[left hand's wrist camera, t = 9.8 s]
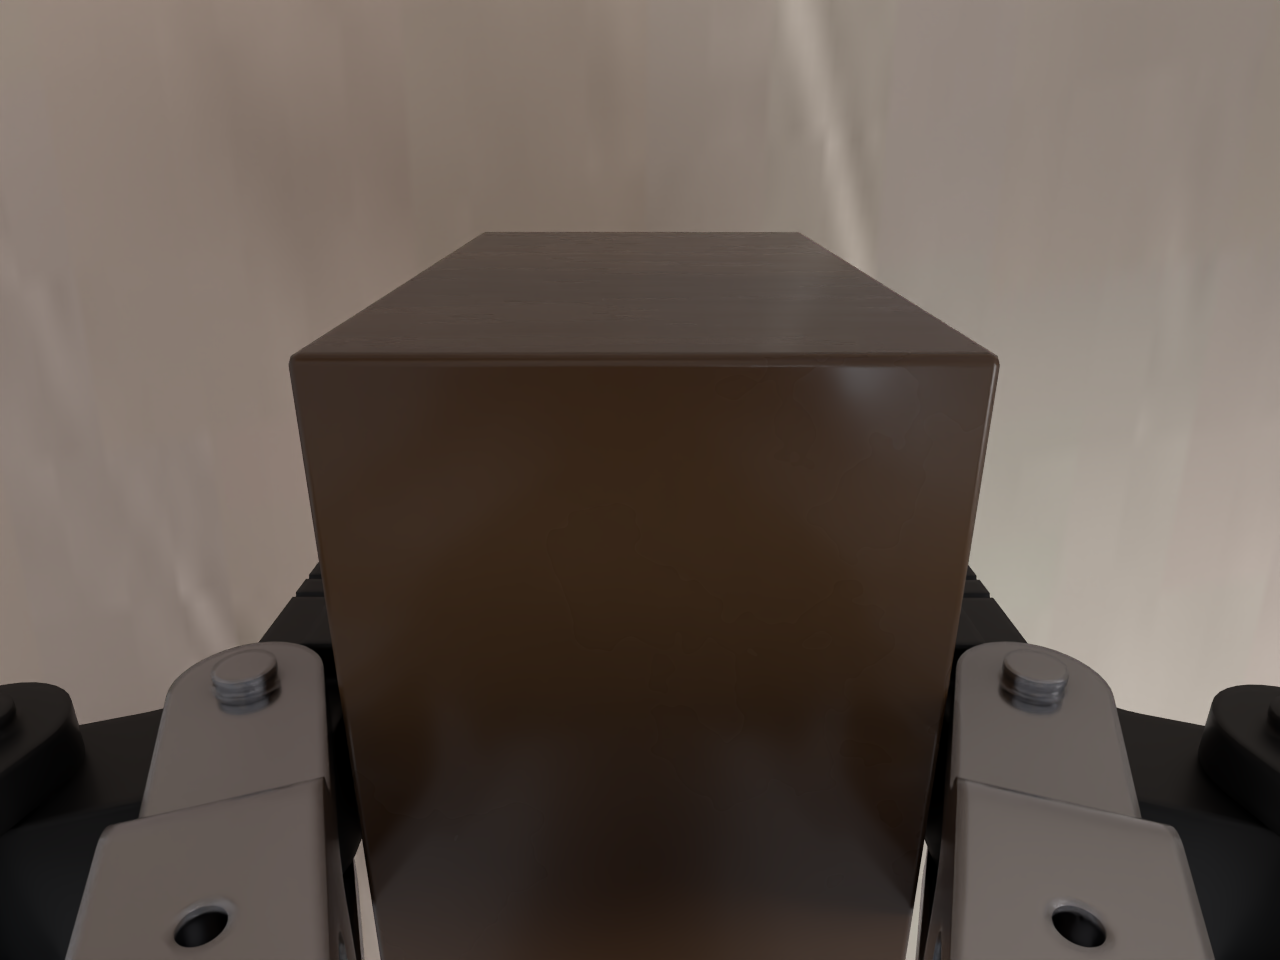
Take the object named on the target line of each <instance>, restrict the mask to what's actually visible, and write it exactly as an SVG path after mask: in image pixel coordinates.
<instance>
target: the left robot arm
mask: <svg viewBox="0 0 1280 960" xmlns="http://www.w3.org/2000/svg"><path fill="white" fill-rule="evenodd" d="M361 839H362V835H361V829H360V822H359V816H358V809H357V803H356V796H355V790H354V783H353V777H352V770H351V764H350V758H349V751H348V745H347V738H346V732H345V725H344V719H343V712H342V706H341V700H340V693H339V687H338V680H337V674H336V667H335V661H334V654H333V648H332V641H331V635H330V629H329V622H328V616H327V609H326V603H325V596H324V590H323V583H322V577H321V570H320V564H319V562H318V564H317V565H316V566H315V568H314V569H313V570H312V572H311V573H310V574H309V579H306V580H305V581H304V582H303V584H302V585H301V586H300V588H299V589H298V590H297V592H296V597H292V599H291V600H290V601H289V603H288V604H287V605H286V607H285V608H284V609H283V611H282V612H281V613H280V615H279V616H278V617H277V619H276V620H275V621H274V623H273V624H272V625H271V627H270V628H269V629H268V631H267V632H266V633H265V635H264V636H263V637H262V639H261V640H260V641H259V643H253V644H247V645H242V646H238V647H234V648H231V649H228V650H224V651H222V652H219V653H217V654H214V655H212V656H210V657H208V658H206V659H204V660H201V661H200V662H198V663H196V664H195V665H193V666H192V667H190V668H189V669H187V670H186V671H185V672H184V673H182V674H181V675H180V676H179V677H178V678H177V679H176V680H175V681H174V683H173V684H172V685H171V687H170V688H169V690H168V693H167V696H166V700H165V704H164V708H163V709H159V710H155V711H151V712H146V713H141V714H136V715H131V716H125V717H120V718H115V719H110V720H104V721H99V722H94V723H89V724H83V725H79V724H78V721H77V718H76V714H75V711H74V707H73V704H72V701H71V698H70V696H69V694H68V693H67V692H66V691H65V690H64V689H62V688H60V687H57V686H55V685H51V684H47V683H37V682H28V683H14V684H6V685H1V686H0V960H364V948H363V936H362V924H361V912H360V900H359V888H358V878H357V872H356V865H355V859H354V856H355V854H356V852H357V849H358V847H359V844H360V842H361ZM925 841H926V844H927V846H928V847H927V853H926V859H925V865H924V872H923V878H922V888H921V900H920V912H919V924H918V935H917V947H916V959H915V960H1280V687H1276V686H1267V685H1240V686H1234V687H1230V688H1227V689H1225V690H1223V691H1221V692H1219V693H1218V694H1217V695H1216V696H1215V697H1214V699H1213V702H1212V705H1211V708H1210V711H1209V715H1208V718H1207V721H1206V725H1205V726H1202V725H1197V724H1191V723H1186V722H1181V721H1176V720H1170V719H1165V718H1160V717H1155V716H1149V715H1144V714H1139V713H1135V712H1131V711H1126V710H1123V709H1119V708H1116V704H1115V700H1114V696H1113V693H1112V691H1111V688H1110V687H1109V685H1108V684H1107V683H1106V681H1105V680H1104V679H1103V678H1102V677H1101V676H1100V675H1099V674H1098V673H1096V672H1095V671H1094V670H1093V669H1091V668H1090V667H1088V666H1087V665H1085V664H1084V663H1082V662H1080V661H1079V660H1076V659H1074V658H1072V657H1070V656H1068V655H1066V654H1063V653H1061V652H1058V651H1056V650H1052V649H1049V648H1046V647H1042V646H1038V645H1033V644H1028V643H1027V642H1026V641H1025V639H1024V638H1023V637H1022V635H1021V634H1020V633H1019V631H1018V630H1017V629H1016V627H1015V626H1014V625H1013V623H1012V622H1011V621H1010V619H1009V618H1008V617H1007V615H1006V614H1005V613H1004V612H1003V610H1002V609H1001V608H1000V606H999V605H998V604H997V602H996V601H995V600H994V598H990V593H989V592H988V590H987V589H986V588H985V586H984V585H983V584H982V582H981V581H980V580H977V579H976V575H975V573H974V572H973V571H972V569H971V568H970V567H969V565H968V568H967V574H966V581H965V587H964V593H963V599H962V606H961V612H960V618H959V625H958V631H957V637H956V644H955V650H954V656H953V662H952V669H951V675H950V681H949V688H948V694H947V700H946V706H945V713H944V719H943V725H942V732H941V738H940V744H939V751H938V757H937V763H936V769H935V776H934V782H933V788H932V795H931V801H930V807H929V814H928V820H927V826H926V832H925Z"/></svg>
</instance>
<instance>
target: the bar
mask: <svg viewBox="0 0 1280 960" xmlns="http://www.w3.org/2000/svg"><path fill="white" fill-rule="evenodd" d="M999 366H1000V364H999V360H998V356H997V355H995V354H993V353H992V352H990V351H989V350H987V349H985V348H984V347H982V346H981V345H979V344H977V343H976V342H974V341H973V340H971V339H969V338H968V337H966V336H965V335H963V334H961V333H960V332H958V331H957V330H955V329H953V328H952V327H950V326H949V325H947V324H945V323H944V322H942V321H941V320H939V319H937V318H936V317H934V316H933V315H931V314H929V313H928V312H926V311H925V310H923V309H921V308H920V307H918V306H917V305H915V304H913V303H912V302H910V301H909V300H907V299H905V298H904V297H902V296H901V295H899V294H897V293H896V292H894V291H893V290H891V289H889V288H888V287H886V286H885V285H883V284H881V283H880V282H878V281H877V280H875V279H873V278H872V277H870V276H869V275H867V274H865V273H864V272H862V271H861V270H859V269H857V268H856V267H854V266H852V265H851V264H849V263H848V262H846V261H844V260H843V259H841V258H840V257H838V256H836V255H835V254H833V253H832V252H830V251H828V250H827V249H825V248H824V247H822V246H820V245H819V244H817V243H816V242H814V241H812V240H811V239H809V238H808V237H806V236H804V235H803V234H801V233H799V232H485V233H483V234H481V235H479V236H478V237H476V238H474V239H473V240H471V241H470V242H468V243H467V244H465V245H464V246H462V247H460V248H459V249H457V250H456V251H454V252H453V253H451V254H449V255H448V256H446V257H445V258H443V259H442V260H440V261H439V262H437V263H435V264H434V265H432V266H431V267H429V268H428V269H426V270H424V271H423V272H421V273H420V274H418V275H417V276H415V277H414V278H412V279H410V280H409V281H407V282H406V283H404V284H403V285H401V286H399V287H398V288H396V289H395V290H393V291H392V292H390V293H389V294H387V295H385V296H384V297H382V298H381V299H379V300H378V301H376V302H374V303H373V304H371V305H370V306H368V307H367V308H365V309H364V310H362V311H360V312H359V313H357V314H356V315H354V316H353V317H351V318H349V319H348V320H346V321H345V322H343V323H342V324H340V325H339V326H337V327H335V328H334V329H332V330H331V331H329V332H328V333H326V334H324V335H323V336H321V337H320V338H318V339H317V340H315V341H314V342H312V343H310V344H309V345H307V346H306V347H304V348H303V349H301V350H300V351H298V352H296V353H295V354H293V355H292V356H291V357H290V361H289V371H290V377H291V383H292V390H293V396H294V403H295V409H296V416H297V422H298V429H299V435H300V441H301V448H302V454H303V461H304V467H305V474H306V480H307V487H308V493H309V500H310V506H311V512H312V519H313V525H314V532H315V538H316V545H317V551H318V558H319V564H320V570H321V577H322V583H323V590H324V596H325V603H326V609H327V616H328V622H329V629H330V635H331V641H332V648H333V654H334V661H335V667H336V674H337V680H338V687H339V693H340V700H341V706H342V712H343V719H344V725H345V732H346V738H347V745H348V751H349V758H350V764H351V770H352V777H353V783H354V790H355V796H356V803H357V809H358V816H359V822H360V829H361V835H362V841H363V848H364V854H365V861H366V867H367V874H368V880H369V887H370V893H371V900H372V906H373V912H374V919H375V925H376V932H377V938H378V945H379V951H380V958H381V960H905V958H906V952H907V946H908V939H909V933H910V927H911V921H912V914H913V908H914V902H915V895H916V889H917V883H918V876H919V870H920V864H921V858H922V851H923V845H924V839H925V832H926V826H927V820H928V814H929V807H930V801H931V795H932V788H933V782H934V776H935V769H936V763H937V757H938V751H939V744H940V738H941V732H942V725H943V719H944V713H945V706H946V700H947V694H948V688H949V681H950V675H951V669H952V662H953V656H954V650H955V644H956V637H957V631H958V625H959V618H960V612H961V606H962V599H963V593H964V587H965V581H966V574H967V568H968V562H969V555H970V549H971V543H972V537H973V530H974V524H975V518H976V511H977V505H978V499H979V492H980V486H981V480H982V474H983V467H984V461H985V455H986V448H987V442H988V436H989V430H990V423H991V417H992V411H993V404H994V398H995V392H996V385H997V379H998V373H999Z"/></svg>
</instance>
